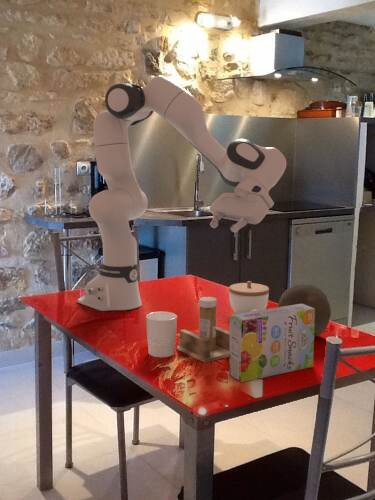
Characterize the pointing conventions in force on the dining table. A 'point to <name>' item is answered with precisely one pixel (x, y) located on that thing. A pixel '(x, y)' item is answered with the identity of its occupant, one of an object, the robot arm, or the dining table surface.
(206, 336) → the sprinkles bottle
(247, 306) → the lidded white jar
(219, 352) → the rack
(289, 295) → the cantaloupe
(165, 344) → the white cup
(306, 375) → the dining table surface
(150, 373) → the dining table surface
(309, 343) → the snack box
